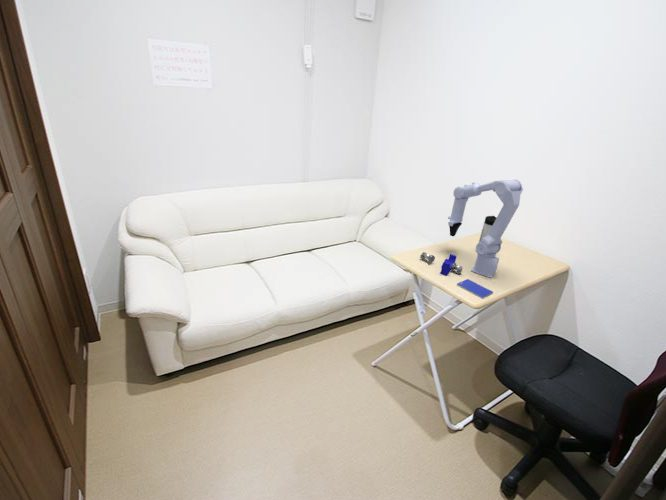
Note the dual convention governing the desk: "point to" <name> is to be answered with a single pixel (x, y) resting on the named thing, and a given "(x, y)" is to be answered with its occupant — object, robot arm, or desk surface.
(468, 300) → the desk surface
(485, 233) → the travel mug
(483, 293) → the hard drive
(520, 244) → the desk surface
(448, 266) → the cable clip
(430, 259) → the shaft
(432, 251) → the desk surface
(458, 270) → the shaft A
